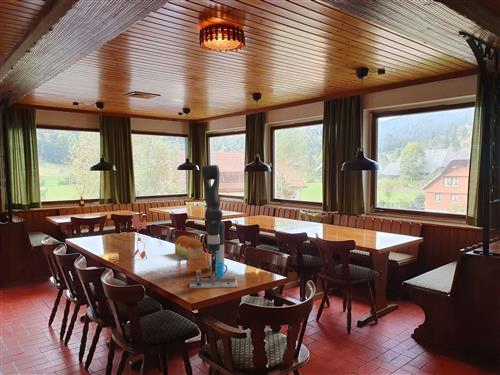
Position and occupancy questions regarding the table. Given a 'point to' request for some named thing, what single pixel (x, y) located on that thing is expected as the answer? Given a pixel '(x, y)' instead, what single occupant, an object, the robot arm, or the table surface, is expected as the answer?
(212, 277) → the sliding leg
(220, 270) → the mug
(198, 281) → the pitch gauge
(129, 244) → the table surface
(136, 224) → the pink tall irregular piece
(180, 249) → the bread
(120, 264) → the table surface
